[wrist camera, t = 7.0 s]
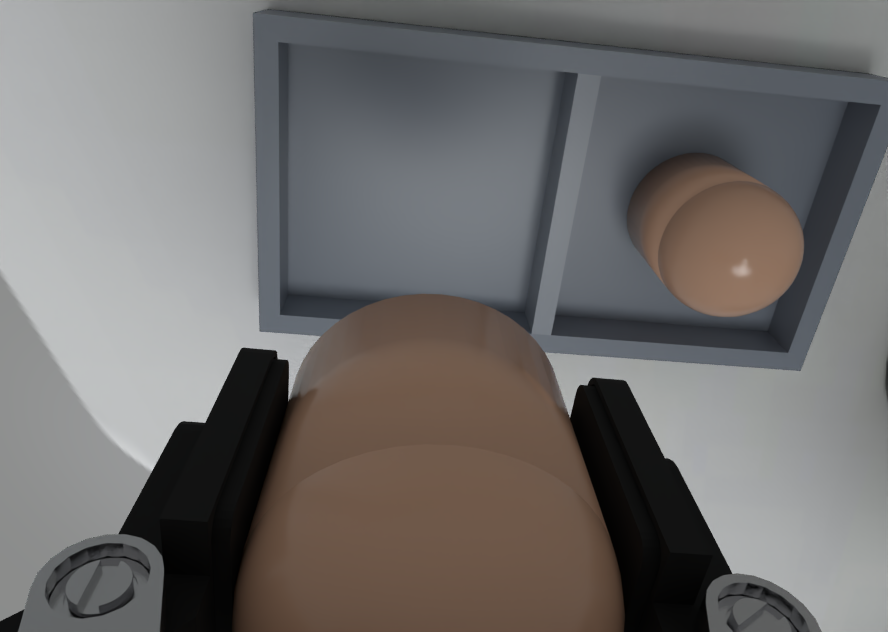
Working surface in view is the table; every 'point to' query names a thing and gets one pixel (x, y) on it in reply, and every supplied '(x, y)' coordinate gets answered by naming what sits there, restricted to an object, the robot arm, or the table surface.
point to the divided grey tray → (536, 179)
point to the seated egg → (715, 235)
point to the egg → (427, 486)
